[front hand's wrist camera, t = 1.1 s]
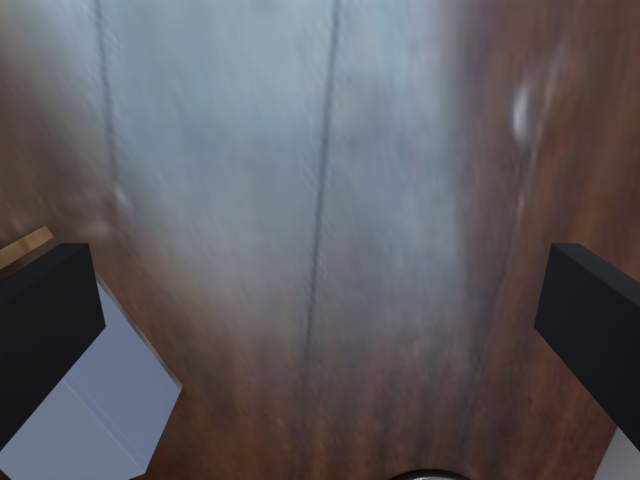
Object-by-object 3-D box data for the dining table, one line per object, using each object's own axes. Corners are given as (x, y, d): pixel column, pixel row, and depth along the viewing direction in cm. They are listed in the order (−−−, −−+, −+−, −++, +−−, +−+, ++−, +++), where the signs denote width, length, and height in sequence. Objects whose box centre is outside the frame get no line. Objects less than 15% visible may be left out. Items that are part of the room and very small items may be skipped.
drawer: (-80, 216, 38) (-191, 256, 30) (3, 169, 36) (-91, 198, 28) (81, 399, 45) (28, 472, 37) (155, 367, 44) (116, 436, 36)
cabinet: (-13, 288, 42) (-118, 356, 32) (75, 243, 40) (-7, 301, 30) (102, 420, 48) (44, 512, 38) (183, 386, 46) (145, 473, 36)
